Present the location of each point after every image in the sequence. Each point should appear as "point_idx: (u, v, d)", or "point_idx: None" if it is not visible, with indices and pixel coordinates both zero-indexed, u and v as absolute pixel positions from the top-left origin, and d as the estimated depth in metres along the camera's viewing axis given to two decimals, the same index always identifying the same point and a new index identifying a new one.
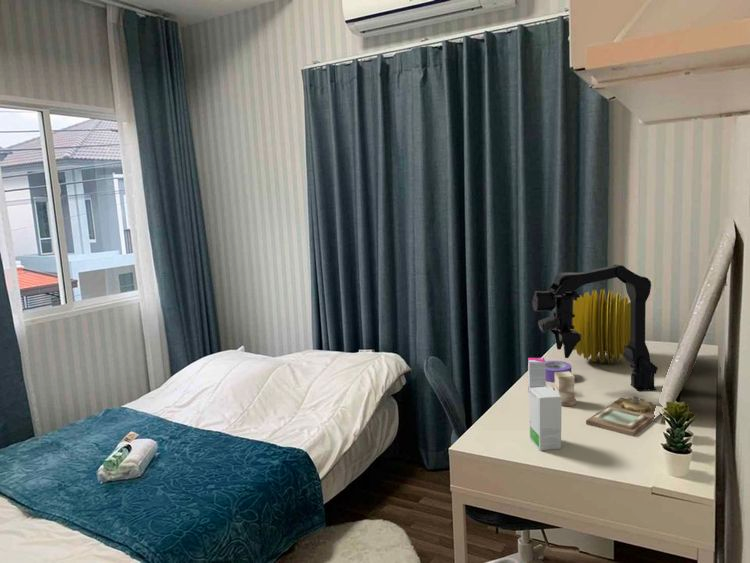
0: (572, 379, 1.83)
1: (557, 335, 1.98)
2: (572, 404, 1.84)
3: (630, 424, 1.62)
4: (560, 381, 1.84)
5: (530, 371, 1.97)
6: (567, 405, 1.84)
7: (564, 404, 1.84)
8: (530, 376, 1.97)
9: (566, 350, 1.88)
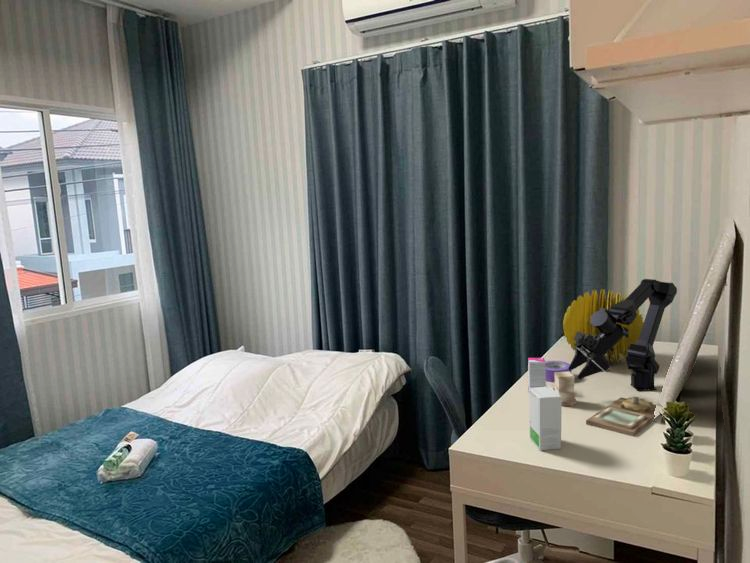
0: (572, 379, 1.83)
1: (578, 357, 1.90)
2: (572, 404, 1.84)
3: (630, 424, 1.62)
4: (560, 381, 1.84)
5: (530, 371, 1.97)
6: (567, 405, 1.84)
7: (564, 404, 1.84)
8: (530, 376, 1.97)
9: (584, 371, 1.79)
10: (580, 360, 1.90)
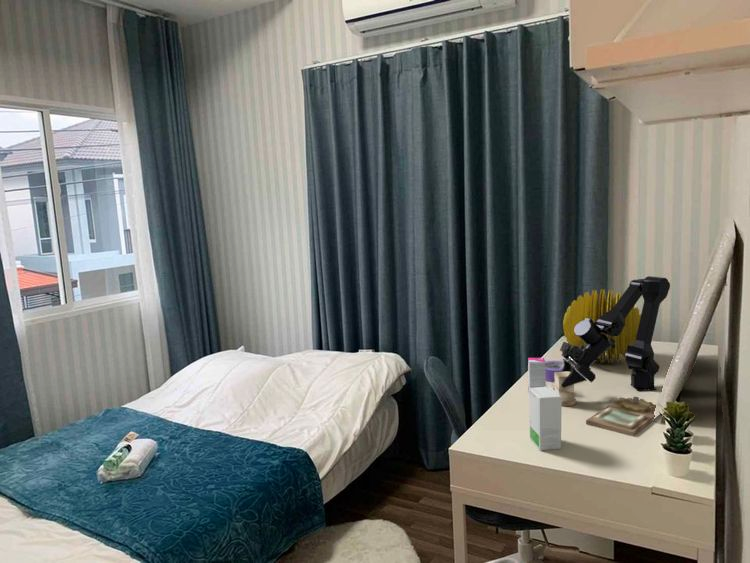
0: None
1: (566, 369, 1.89)
2: (572, 404, 1.84)
3: (630, 424, 1.62)
4: (560, 381, 1.84)
5: (530, 371, 1.97)
6: (567, 405, 1.84)
7: (564, 404, 1.84)
8: (530, 376, 1.97)
9: (568, 380, 1.82)
10: None
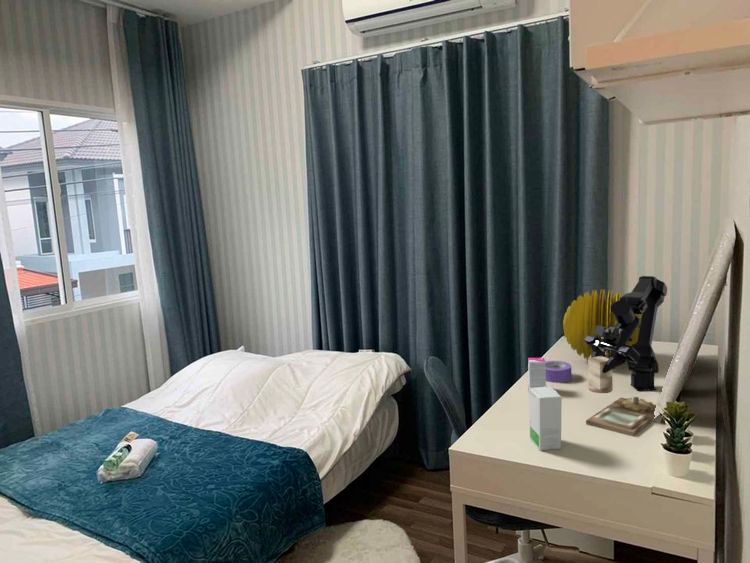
0: None
1: (597, 353, 1.80)
2: (611, 389, 1.76)
3: (630, 424, 1.62)
4: (601, 367, 1.74)
5: (530, 371, 1.97)
6: (608, 391, 1.75)
7: (605, 390, 1.74)
8: (530, 376, 1.97)
9: (610, 364, 1.73)
10: None
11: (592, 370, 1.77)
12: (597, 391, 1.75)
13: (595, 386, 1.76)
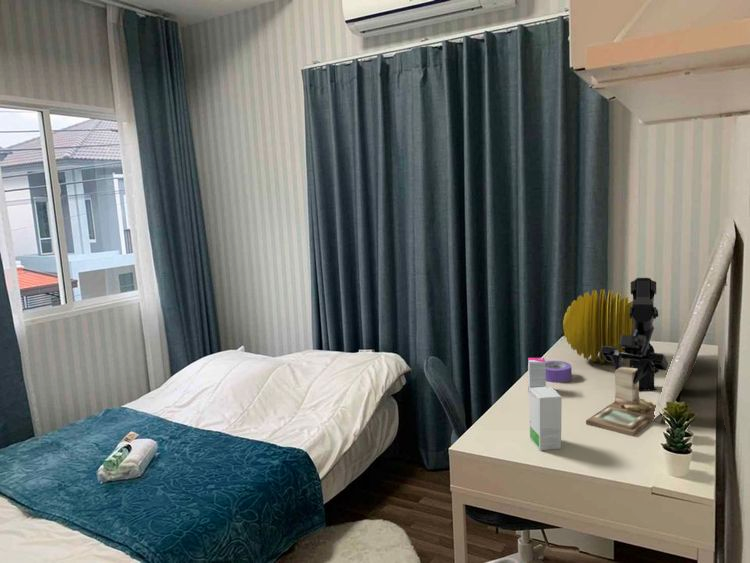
0: None
1: (619, 364, 1.73)
2: (639, 400, 1.70)
3: (630, 424, 1.62)
4: (632, 377, 1.67)
5: (530, 371, 1.97)
6: (638, 402, 1.69)
7: (636, 401, 1.68)
8: (530, 376, 1.97)
9: (640, 374, 1.68)
10: None
11: (621, 382, 1.69)
12: (629, 403, 1.68)
13: (625, 398, 1.69)
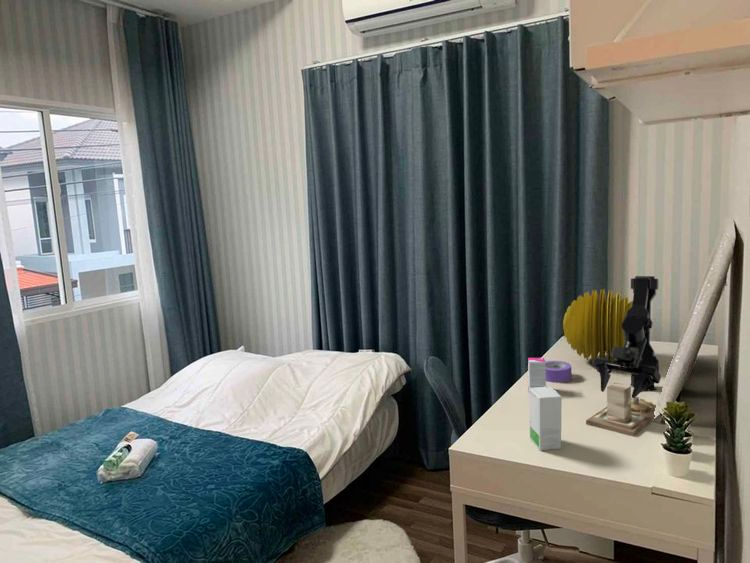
0: (630, 390, 1.67)
1: (605, 375, 1.72)
2: (631, 417, 1.67)
3: (630, 424, 1.62)
4: (624, 395, 1.64)
5: (530, 371, 1.97)
6: (630, 419, 1.66)
7: (628, 419, 1.65)
8: (530, 376, 1.97)
9: (639, 388, 1.63)
10: (606, 378, 1.72)
11: (613, 399, 1.67)
12: (620, 421, 1.65)
13: (617, 416, 1.66)
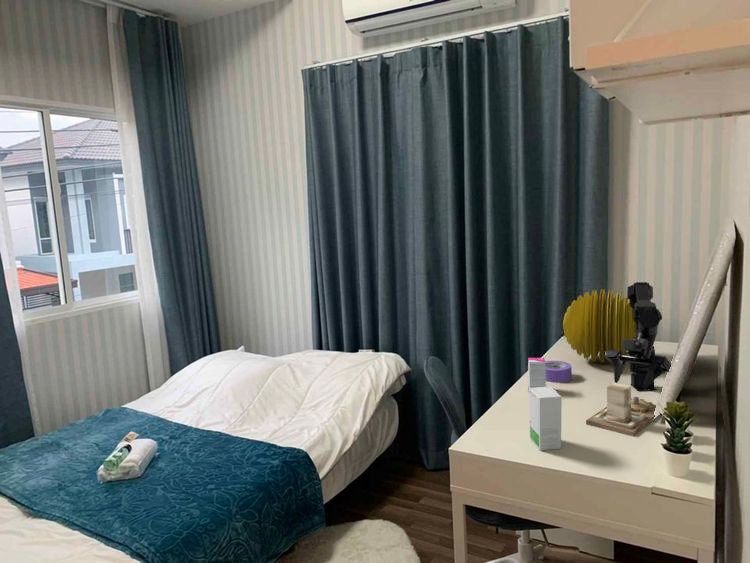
0: (630, 390, 1.67)
1: (618, 367, 1.79)
2: (631, 417, 1.67)
3: (630, 424, 1.62)
4: (624, 395, 1.64)
5: (530, 371, 1.97)
6: (630, 419, 1.66)
7: (628, 419, 1.65)
8: (530, 376, 1.97)
9: (650, 377, 1.70)
10: (619, 369, 1.79)
11: (613, 399, 1.67)
12: (620, 421, 1.65)
13: (617, 416, 1.66)
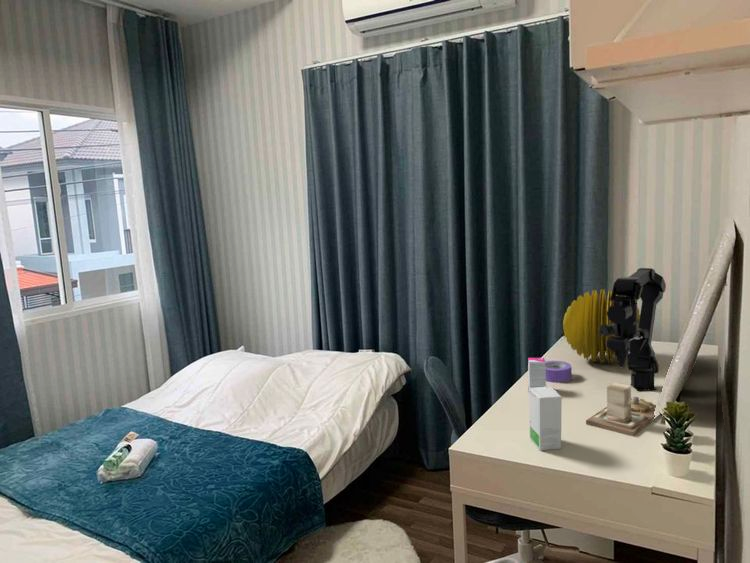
0: (630, 390, 1.67)
1: (632, 344, 1.85)
2: (631, 417, 1.67)
3: (630, 424, 1.62)
4: (624, 395, 1.64)
5: (530, 371, 1.97)
6: (630, 419, 1.66)
7: (628, 419, 1.65)
8: (530, 376, 1.97)
9: (618, 358, 1.78)
10: (636, 346, 1.85)
11: (613, 399, 1.67)
12: (620, 421, 1.65)
13: (617, 416, 1.66)
